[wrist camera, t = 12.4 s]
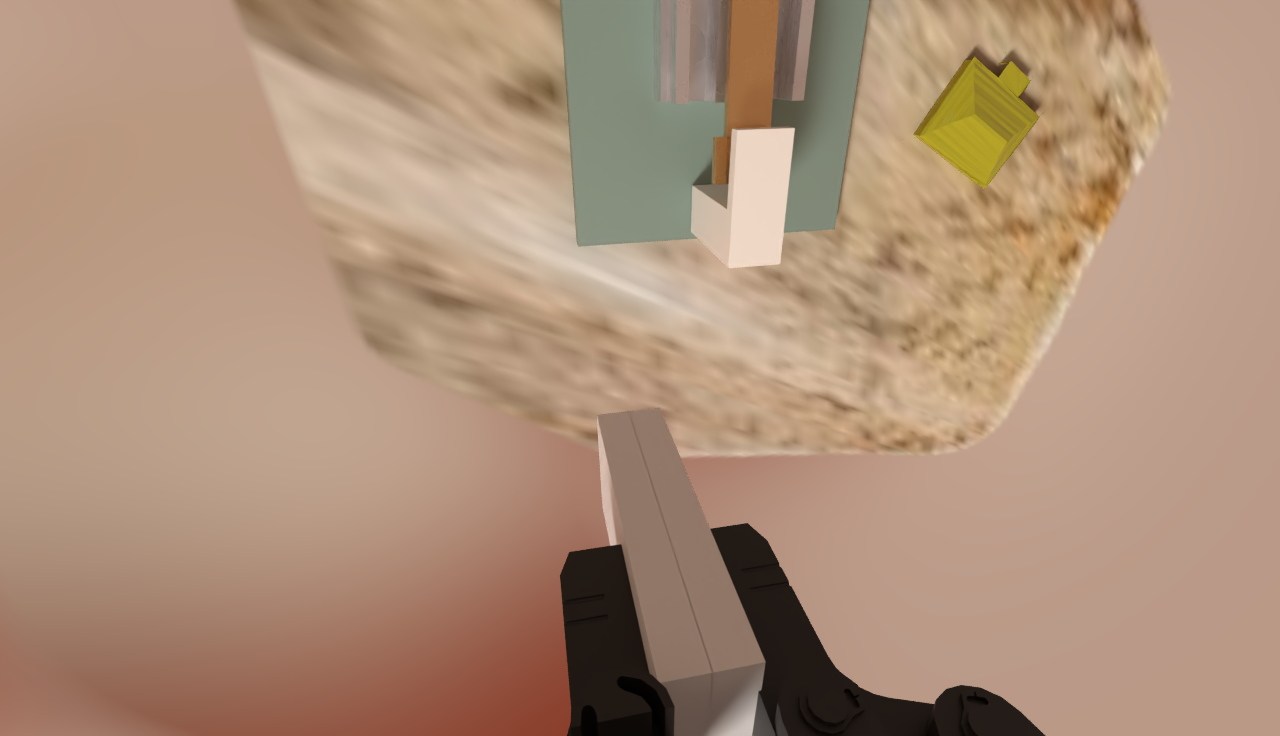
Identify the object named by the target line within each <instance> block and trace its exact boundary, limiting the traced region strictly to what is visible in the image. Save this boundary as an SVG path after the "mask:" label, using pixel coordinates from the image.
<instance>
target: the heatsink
mask: <svg viewBox="0 0 1280 736" xmlns="http://www.w3.org/2000/svg"><path fill="white" fill-rule="evenodd" d="M814 6H815V0H779V11H778V26H777V41H776V56H775V71H774V86H773V99H783V100H790V101H800V100H804V94H805V85H806V76H807V67H808V58H809V50H810V41H811V32H812V23H813V14H814ZM727 24H728V0H653V100H655V101H659V102H670V103H674V104H688V101H708V102H713V103H725V83H726V54H727Z"/></svg>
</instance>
